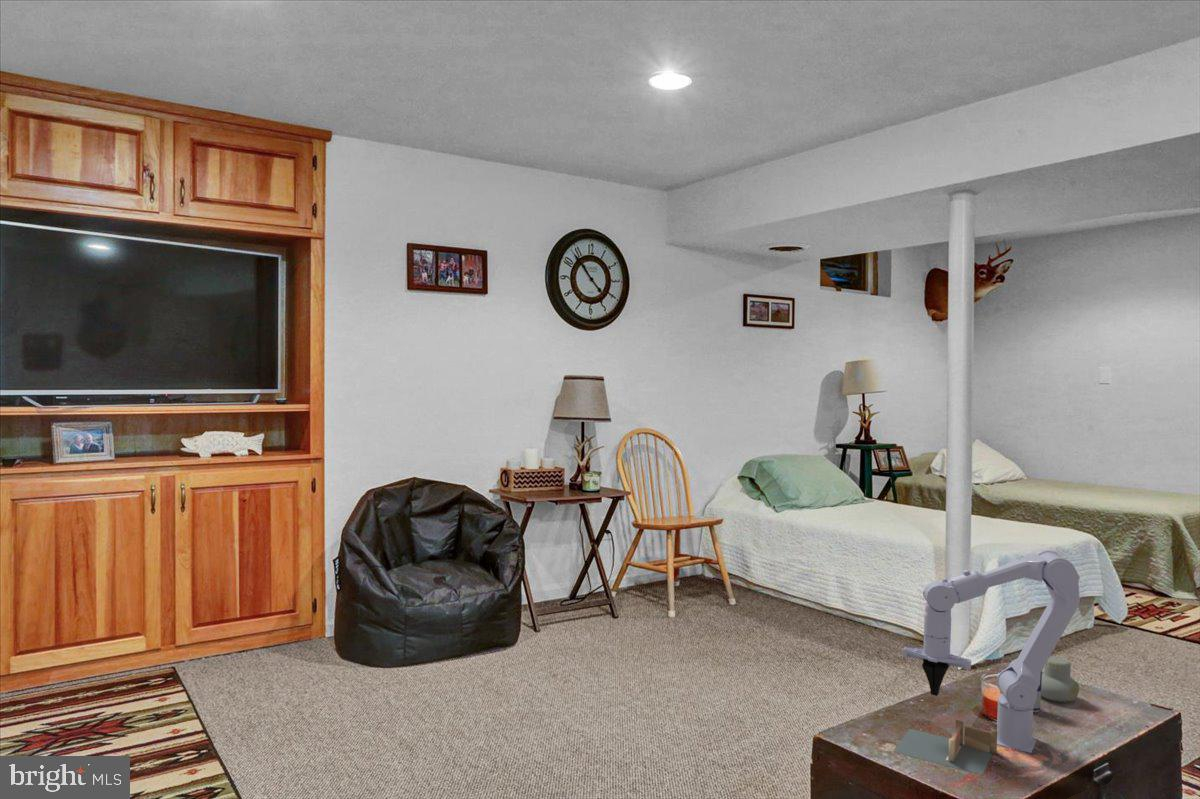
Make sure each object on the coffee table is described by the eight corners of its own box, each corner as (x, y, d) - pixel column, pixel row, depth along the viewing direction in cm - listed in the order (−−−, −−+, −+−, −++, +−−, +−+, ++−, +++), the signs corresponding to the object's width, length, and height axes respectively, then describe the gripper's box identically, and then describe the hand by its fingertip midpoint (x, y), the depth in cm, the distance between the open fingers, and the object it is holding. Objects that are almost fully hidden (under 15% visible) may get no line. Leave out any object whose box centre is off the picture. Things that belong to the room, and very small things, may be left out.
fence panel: (955, 744, 188) (955, 724, 187) (960, 745, 187) (961, 725, 187) (947, 760, 179) (948, 739, 179) (953, 761, 179) (954, 741, 179)
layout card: (909, 730, 196) (909, 728, 196) (994, 751, 186) (994, 749, 186) (892, 753, 184) (892, 751, 184) (982, 776, 174) (982, 774, 174)
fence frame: (955, 741, 189) (956, 719, 189) (997, 752, 185) (997, 729, 185) (954, 744, 188) (955, 721, 188) (995, 754, 183) (996, 731, 183)
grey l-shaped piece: (1065, 708, 212) (1067, 669, 212) (1031, 698, 219) (1032, 660, 218) (1081, 698, 220) (1082, 660, 220) (1047, 689, 226) (1049, 652, 226)
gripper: (900, 633, 194) (897, 691, 195) (967, 645, 186) (965, 706, 187) (907, 626, 200) (905, 683, 200) (973, 638, 192) (971, 697, 192)
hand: (934, 693), depth 194 cm, fingers closed
